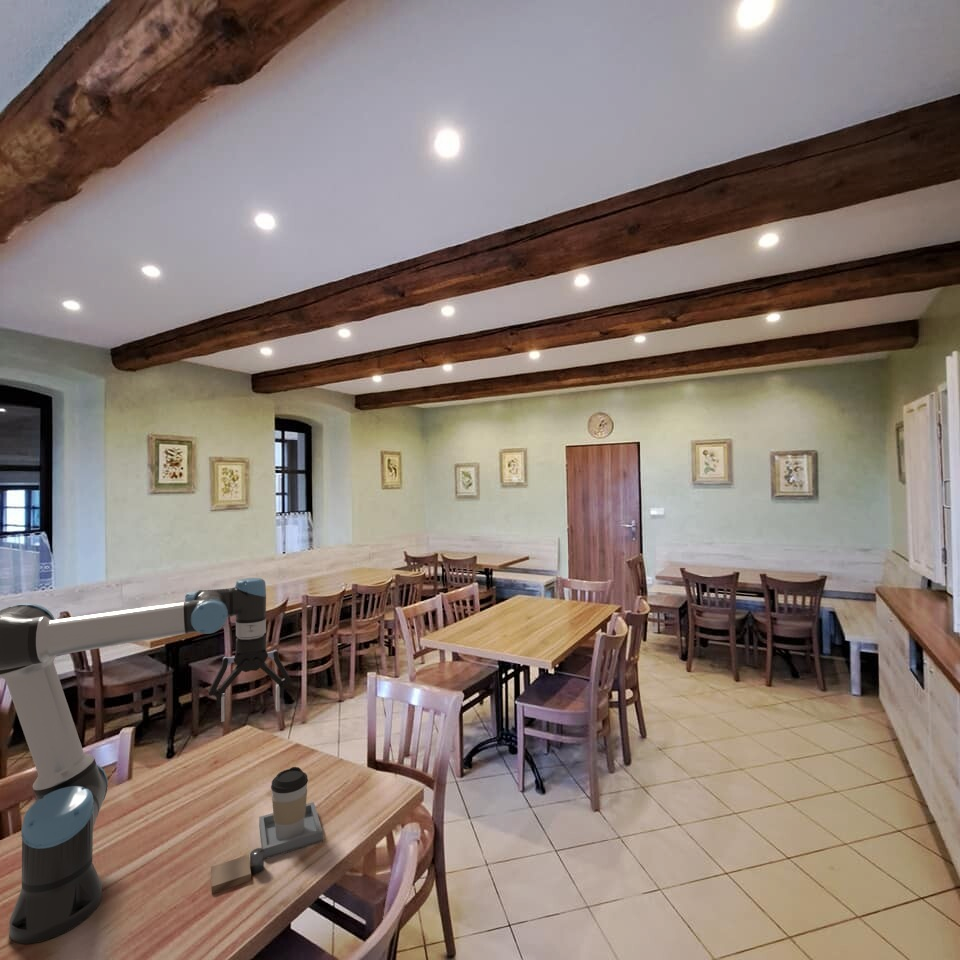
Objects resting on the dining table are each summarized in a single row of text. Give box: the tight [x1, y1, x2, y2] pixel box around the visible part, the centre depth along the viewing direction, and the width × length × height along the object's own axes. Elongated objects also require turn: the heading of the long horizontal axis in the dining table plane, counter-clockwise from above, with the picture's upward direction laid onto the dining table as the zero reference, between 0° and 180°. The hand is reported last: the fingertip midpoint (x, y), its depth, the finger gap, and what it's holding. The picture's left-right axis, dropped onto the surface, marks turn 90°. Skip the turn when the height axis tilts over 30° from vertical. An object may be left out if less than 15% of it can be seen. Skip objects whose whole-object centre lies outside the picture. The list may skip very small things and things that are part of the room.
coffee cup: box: [270, 766, 309, 841], centre depth 133 cm, size 9×9×15 cm
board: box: [210, 854, 252, 894], centre depth 118 cm, size 8×7×2 cm
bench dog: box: [249, 847, 265, 875], centre depth 120 cm, size 3×3×4 cm
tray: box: [258, 801, 324, 860], centre depth 133 cm, size 14×14×2 cm
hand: (250, 714), depth 139 cm, fingers open, 13 cm apart
